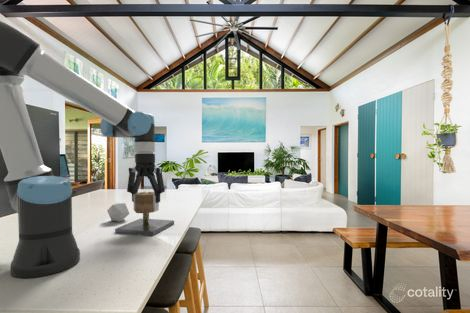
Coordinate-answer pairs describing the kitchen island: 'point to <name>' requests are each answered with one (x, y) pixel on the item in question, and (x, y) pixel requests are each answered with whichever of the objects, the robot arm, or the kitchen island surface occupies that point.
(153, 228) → the stand
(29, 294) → the kitchen island surface
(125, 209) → the die
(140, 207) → the bead
